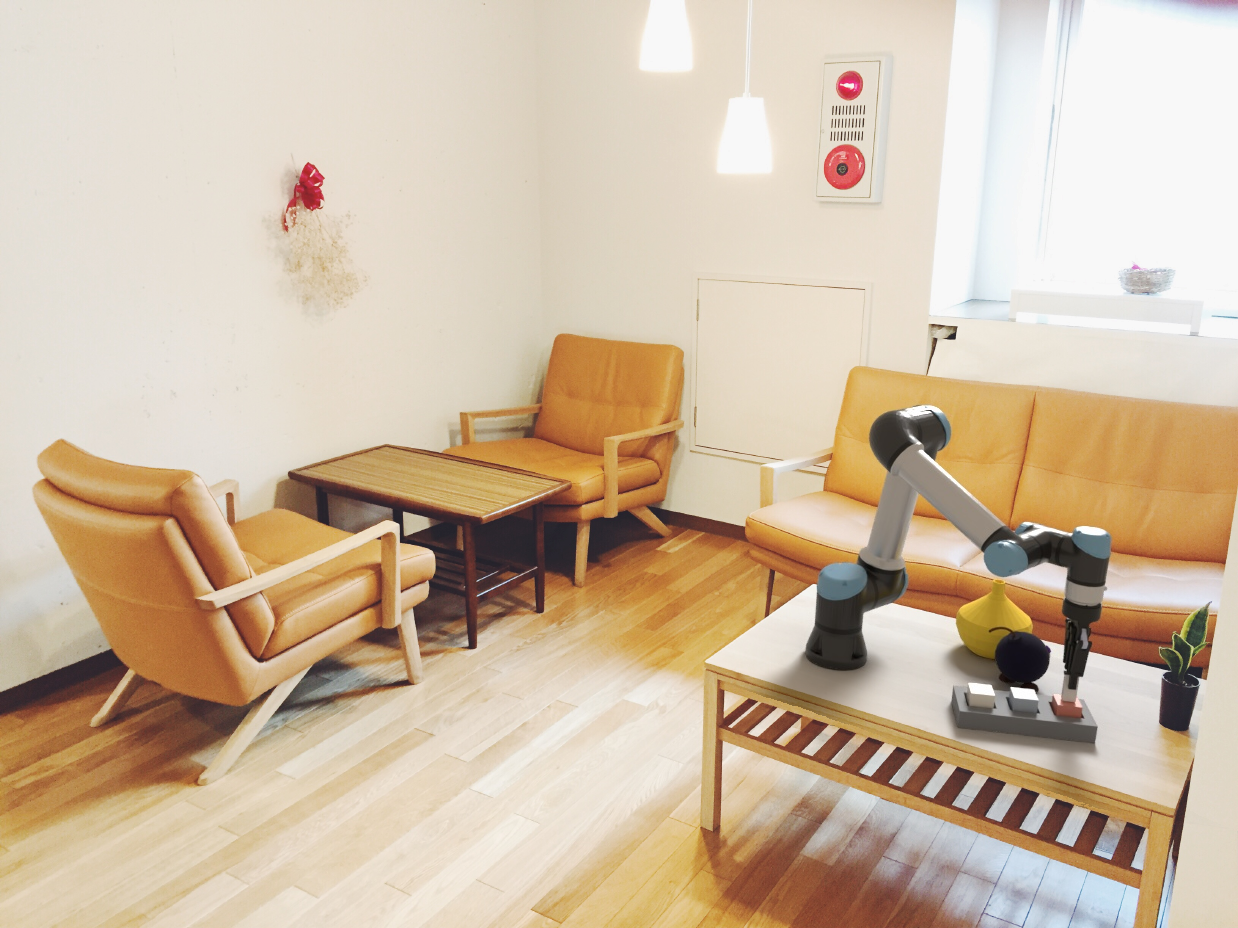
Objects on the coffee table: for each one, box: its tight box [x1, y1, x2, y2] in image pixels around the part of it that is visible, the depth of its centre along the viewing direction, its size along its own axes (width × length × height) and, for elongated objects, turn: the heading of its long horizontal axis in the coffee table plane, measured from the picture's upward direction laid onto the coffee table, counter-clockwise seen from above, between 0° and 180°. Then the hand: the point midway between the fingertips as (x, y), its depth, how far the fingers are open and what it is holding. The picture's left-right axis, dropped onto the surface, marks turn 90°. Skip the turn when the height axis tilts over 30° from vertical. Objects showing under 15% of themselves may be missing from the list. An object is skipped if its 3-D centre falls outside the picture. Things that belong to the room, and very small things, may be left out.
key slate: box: [1008, 686, 1039, 713], centre depth 216 cm, size 5×5×4 cm
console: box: [951, 684, 1098, 744], centre depth 217 cm, size 28×12×4 cm, turn 78°
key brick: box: [1051, 693, 1083, 718], centre depth 214 cm, size 5×5×4 cm
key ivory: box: [966, 682, 995, 708], centre depth 218 cm, size 5×5×4 cm
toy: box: [989, 627, 1052, 693], centre depth 232 cm, size 12×14×15 cm
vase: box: [955, 578, 1034, 660], centre depth 249 cm, size 18×18×19 cm
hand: (1068, 699), depth 214 cm, fingers closed
